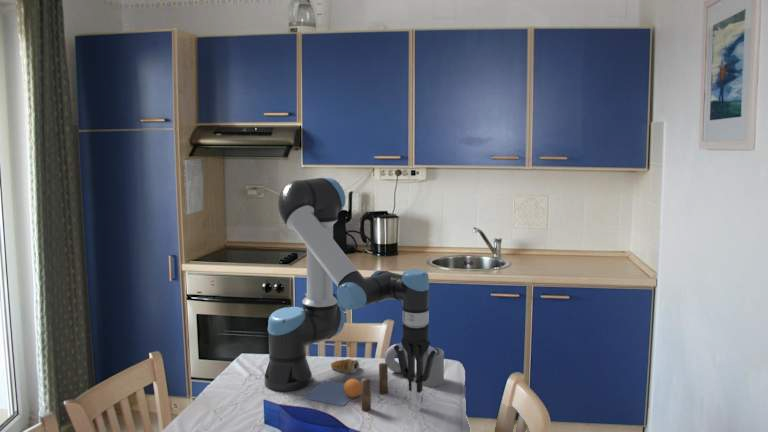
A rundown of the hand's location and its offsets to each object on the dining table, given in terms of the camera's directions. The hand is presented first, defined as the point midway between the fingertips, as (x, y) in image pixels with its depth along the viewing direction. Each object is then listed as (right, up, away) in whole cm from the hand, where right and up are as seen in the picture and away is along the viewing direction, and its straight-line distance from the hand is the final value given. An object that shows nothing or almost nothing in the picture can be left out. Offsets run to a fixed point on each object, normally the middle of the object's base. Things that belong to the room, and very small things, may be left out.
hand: (415, 401), depth 193 cm
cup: (+6, +1, +19) cm, 20 cm away
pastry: (-22, +2, +30) cm, 37 cm away
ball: (-19, +2, +8) cm, 20 cm away
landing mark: (-25, 0, +11) cm, 27 cm away
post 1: (-14, -2, 0) cm, 15 cm away
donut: (-4, +2, +27) cm, 27 cm away
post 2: (-9, 0, +11) cm, 15 cm away
